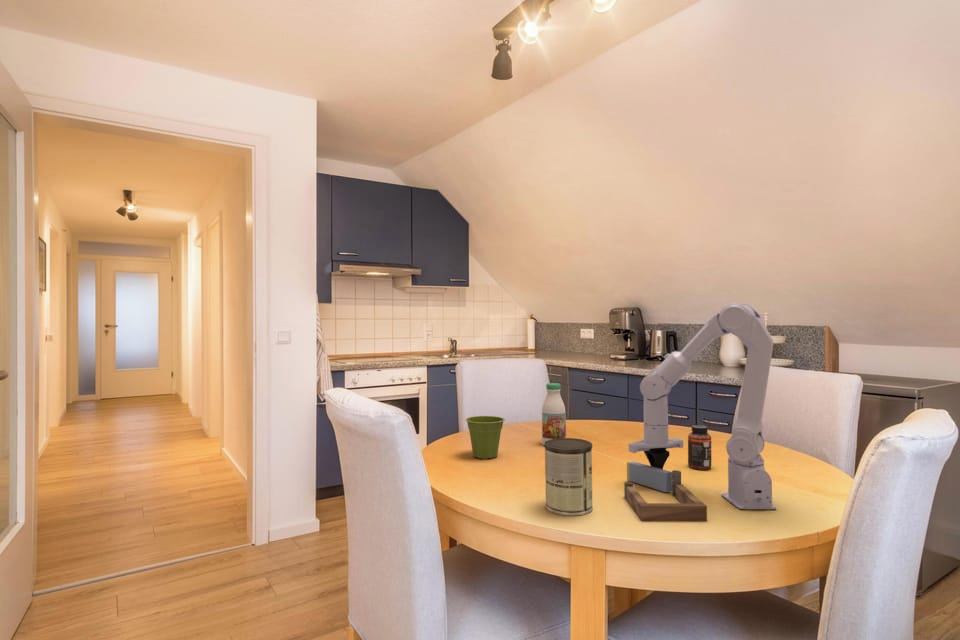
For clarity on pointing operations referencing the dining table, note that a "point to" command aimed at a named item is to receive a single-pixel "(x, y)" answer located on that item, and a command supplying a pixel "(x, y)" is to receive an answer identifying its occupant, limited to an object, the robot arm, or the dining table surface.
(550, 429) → the milk bottle
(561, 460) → the coffee can
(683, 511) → the wooden u-shaped frame
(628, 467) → the gate
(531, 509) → the dining table surface
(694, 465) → the supplement bottle
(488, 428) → the plant pot
